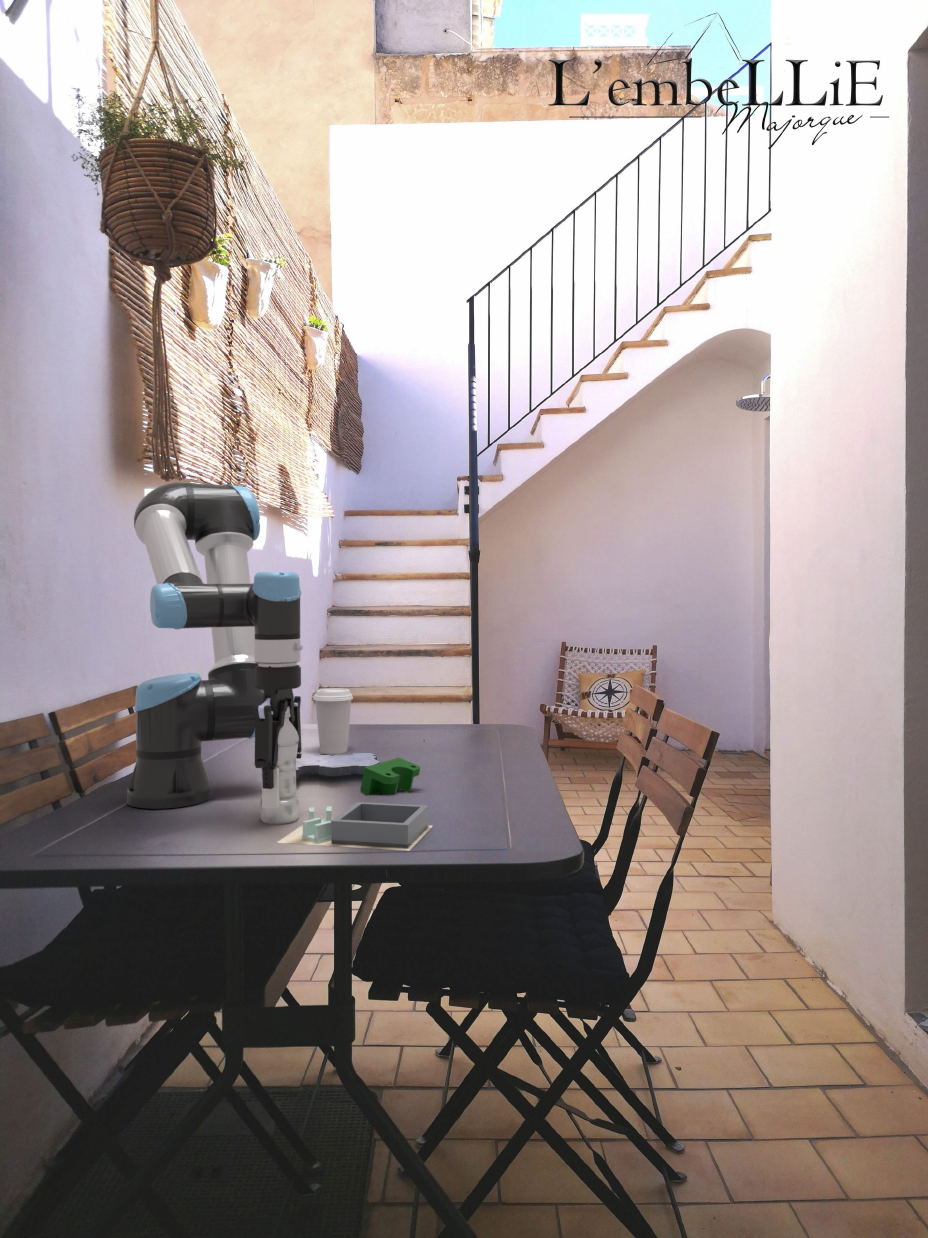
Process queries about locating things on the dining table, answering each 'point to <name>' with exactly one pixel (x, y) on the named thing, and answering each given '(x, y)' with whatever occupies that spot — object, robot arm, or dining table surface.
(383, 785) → the clamp
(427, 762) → the dining table surface
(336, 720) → the coffee cup
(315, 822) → the clip
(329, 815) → the clip
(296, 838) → the board
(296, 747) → the plastic bottle
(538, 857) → the dining table surface
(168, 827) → the dining table surface
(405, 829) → the holder
